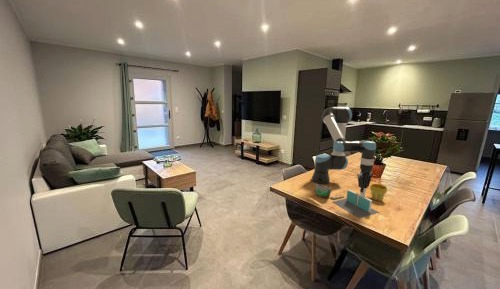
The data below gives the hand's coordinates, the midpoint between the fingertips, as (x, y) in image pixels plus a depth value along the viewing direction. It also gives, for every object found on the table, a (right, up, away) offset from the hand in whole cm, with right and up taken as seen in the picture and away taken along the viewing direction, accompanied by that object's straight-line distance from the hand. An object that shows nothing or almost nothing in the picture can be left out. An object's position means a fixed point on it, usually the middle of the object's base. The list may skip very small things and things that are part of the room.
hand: (362, 196), depth 145 cm
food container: (-27, -3, +6) cm, 28 cm away
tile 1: (-9, -4, -3) cm, 10 cm away
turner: (-12, -3, +7) cm, 14 cm away
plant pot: (+14, -4, +7) cm, 16 cm away
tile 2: (-5, -6, -11) cm, 13 cm away
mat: (-10, -6, -8) cm, 14 cm away
